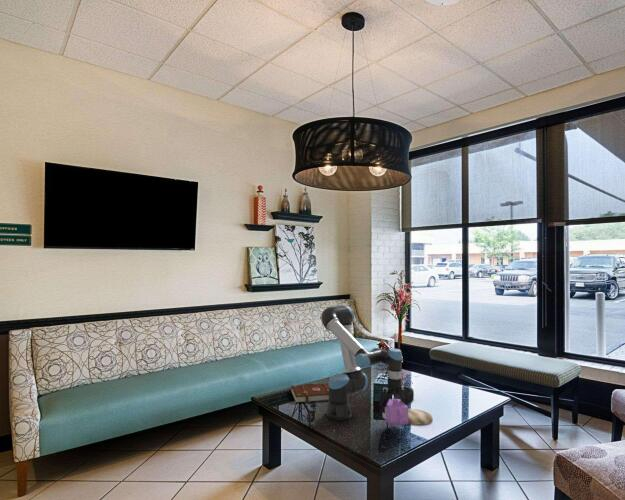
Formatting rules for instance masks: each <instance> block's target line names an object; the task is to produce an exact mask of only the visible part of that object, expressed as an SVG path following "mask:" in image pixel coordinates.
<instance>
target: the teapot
mask: <svg viewBox="0 0 625 500" xmlns="http://www.w3.org/2000/svg"><path fill="white" fill-rule="evenodd" d="M386 407H387V418H386V419H384V421H385V422H387V423H388V424H389V427H390V428H392V427H393V428H394V427H395V426H400V427H405V425H409V424H408V409H409V406H408V405H405V404H404V403H403V402H402V401H401V399H396V398H392V399H391V398H390V399H389V401H388V403H387V405H386ZM381 413H382V415H381V416H382V417H383V412H382V411H381Z"/></svg>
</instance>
